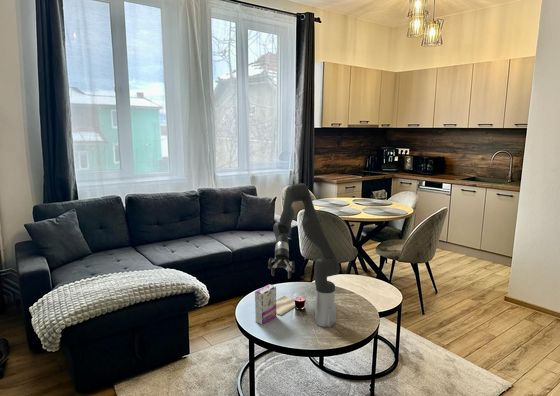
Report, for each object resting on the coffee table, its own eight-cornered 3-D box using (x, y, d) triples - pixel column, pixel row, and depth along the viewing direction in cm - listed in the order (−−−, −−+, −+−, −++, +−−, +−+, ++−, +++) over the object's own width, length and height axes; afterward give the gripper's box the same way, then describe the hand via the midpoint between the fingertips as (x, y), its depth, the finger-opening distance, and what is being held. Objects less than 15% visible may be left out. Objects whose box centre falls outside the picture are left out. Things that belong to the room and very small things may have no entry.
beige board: (301, 302, 209) (301, 301, 209) (281, 315, 194) (281, 314, 194) (283, 296, 216) (283, 295, 216) (262, 309, 201) (262, 308, 201)
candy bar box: (268, 313, 196) (268, 283, 193) (276, 316, 193) (276, 286, 190) (254, 322, 187) (254, 291, 184) (262, 325, 184) (262, 293, 181)
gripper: (270, 245, 207) (269, 270, 196) (296, 249, 209) (296, 274, 198) (267, 253, 212) (266, 278, 201) (292, 257, 214) (292, 282, 203)
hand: (281, 276), depth 199 cm, fingers open, 8 cm apart
